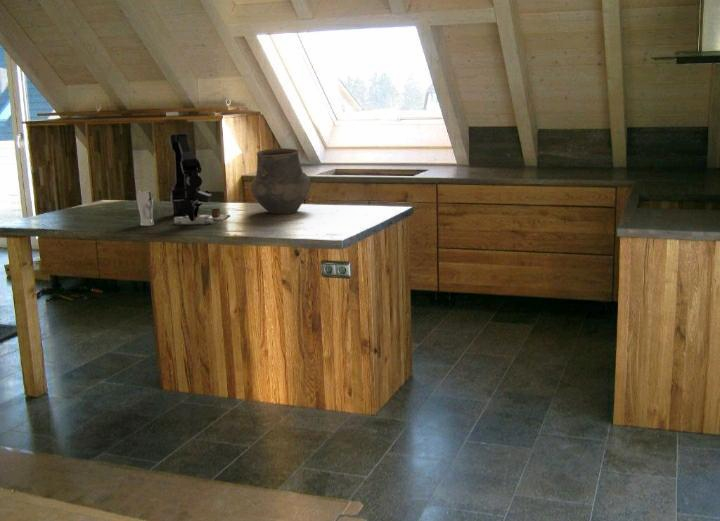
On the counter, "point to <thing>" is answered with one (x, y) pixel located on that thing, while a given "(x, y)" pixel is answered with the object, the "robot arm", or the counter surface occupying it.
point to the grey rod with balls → (196, 220)
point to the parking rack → (215, 215)
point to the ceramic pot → (280, 181)
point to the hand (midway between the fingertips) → (193, 220)
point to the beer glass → (145, 207)
